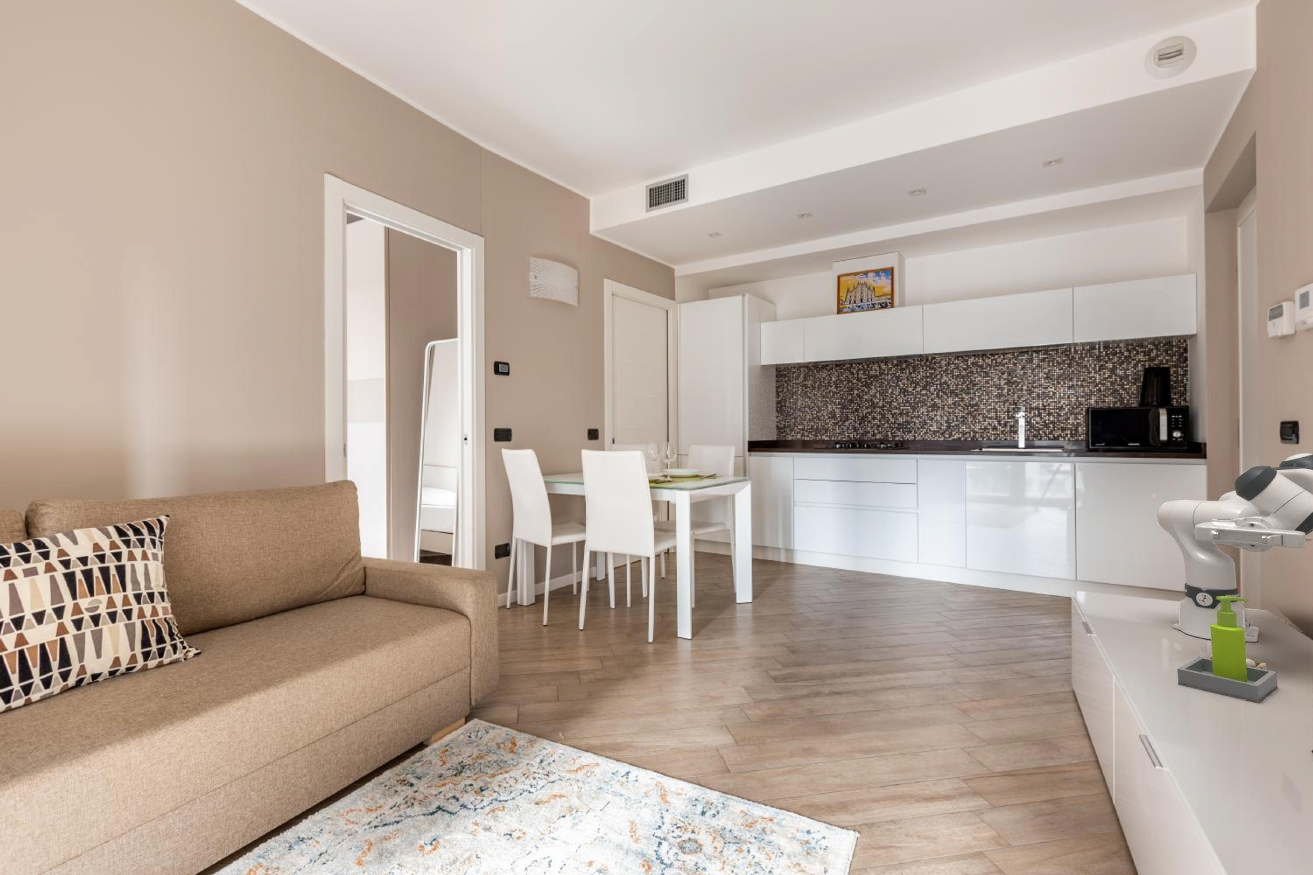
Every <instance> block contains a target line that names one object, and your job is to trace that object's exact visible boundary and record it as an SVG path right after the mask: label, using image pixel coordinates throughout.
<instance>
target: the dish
mask: <svg viewBox="0 0 1313 875" xmlns="http://www.w3.org/2000/svg"><path fill="white" fill-rule="evenodd" d="M1246 667H1247V682H1242V681H1237V680H1233V679H1228V678H1224V677H1219V676H1214V675H1213V665H1212V659H1209V658H1206V657H1203V656H1198V657H1195V659H1192V660H1191V661H1189V662H1187V663H1184V665H1182V666H1180V667H1178V668H1177V682H1178V684H1177V685H1179V686H1180V685H1181V686H1185V687H1189V688H1193V689H1198V690H1201V691H1207V692H1210V693H1214V694H1219V695H1222V696H1227V697H1231V698H1235V699H1239V698H1240V700H1244V699H1245V701H1248V700H1249V702H1252V701H1253V703H1257V704H1260V702H1263V700H1264V699H1265V698H1267V697H1268V696H1269V695H1271V694H1272V693H1273V692H1274V691H1276V690H1277V689H1278V674H1277V673H1278V672H1277V671H1272V670H1270V669H1267V670H1264V669H1259V668H1254V667H1249V666H1246Z"/></svg>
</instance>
